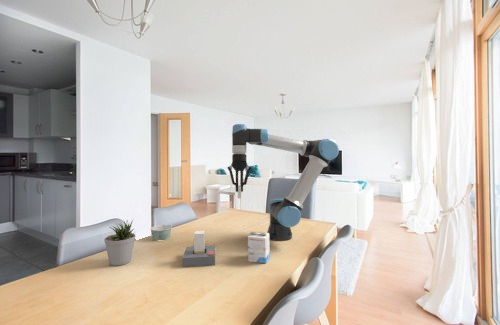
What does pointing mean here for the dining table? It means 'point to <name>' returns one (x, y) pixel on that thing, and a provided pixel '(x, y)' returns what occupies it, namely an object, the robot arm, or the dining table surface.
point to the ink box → (258, 247)
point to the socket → (199, 257)
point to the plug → (199, 242)
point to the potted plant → (120, 245)
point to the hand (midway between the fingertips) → (239, 197)
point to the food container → (161, 232)
